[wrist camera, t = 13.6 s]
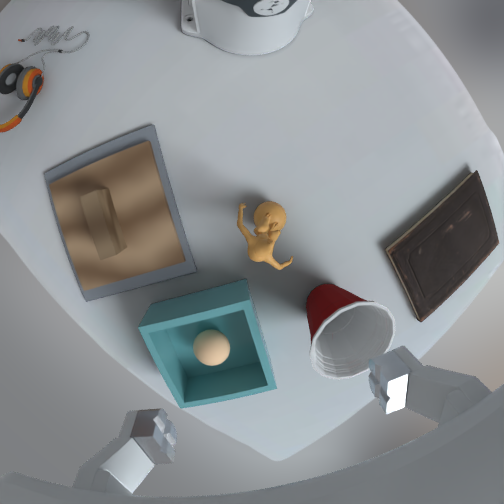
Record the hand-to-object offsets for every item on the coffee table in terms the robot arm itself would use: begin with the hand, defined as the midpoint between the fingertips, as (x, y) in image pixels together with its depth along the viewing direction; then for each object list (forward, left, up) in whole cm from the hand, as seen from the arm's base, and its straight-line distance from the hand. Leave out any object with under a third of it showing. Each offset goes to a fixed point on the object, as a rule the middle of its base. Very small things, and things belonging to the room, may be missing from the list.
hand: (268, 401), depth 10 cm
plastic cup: (+13, +9, -29) cm, 33 cm away
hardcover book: (+10, +33, -30) cm, 46 cm away
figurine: (-1, +3, -29) cm, 30 cm away
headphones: (-35, -25, -30) cm, 52 cm away
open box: (+13, -8, -29) cm, 33 cm away
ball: (+13, -8, -28) cm, 32 cm away
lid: (-7, -16, -29) cm, 33 cm away
